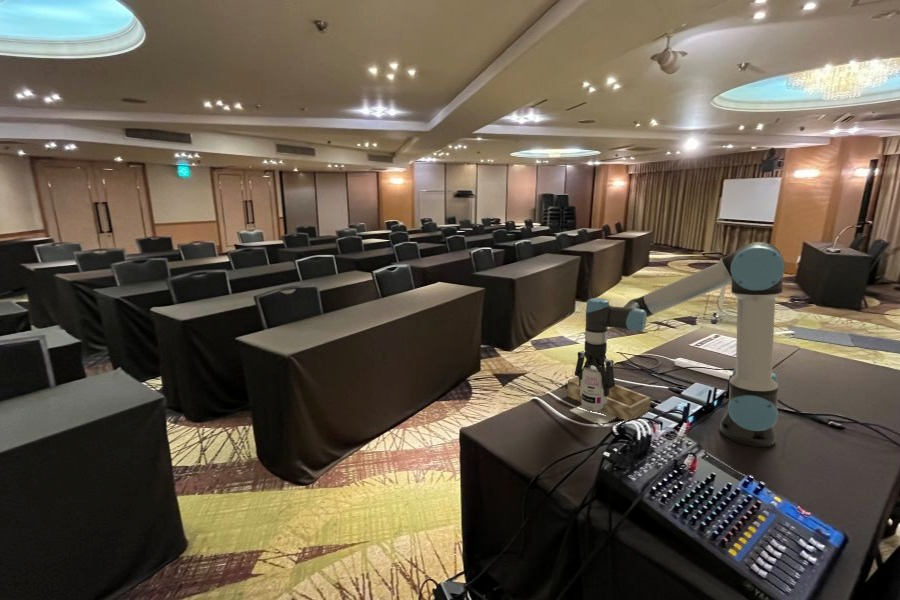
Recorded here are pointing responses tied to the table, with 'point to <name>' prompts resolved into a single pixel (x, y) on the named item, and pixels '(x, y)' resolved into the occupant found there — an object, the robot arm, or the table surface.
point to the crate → (633, 399)
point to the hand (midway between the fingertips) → (593, 399)
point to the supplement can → (591, 388)
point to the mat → (593, 415)
